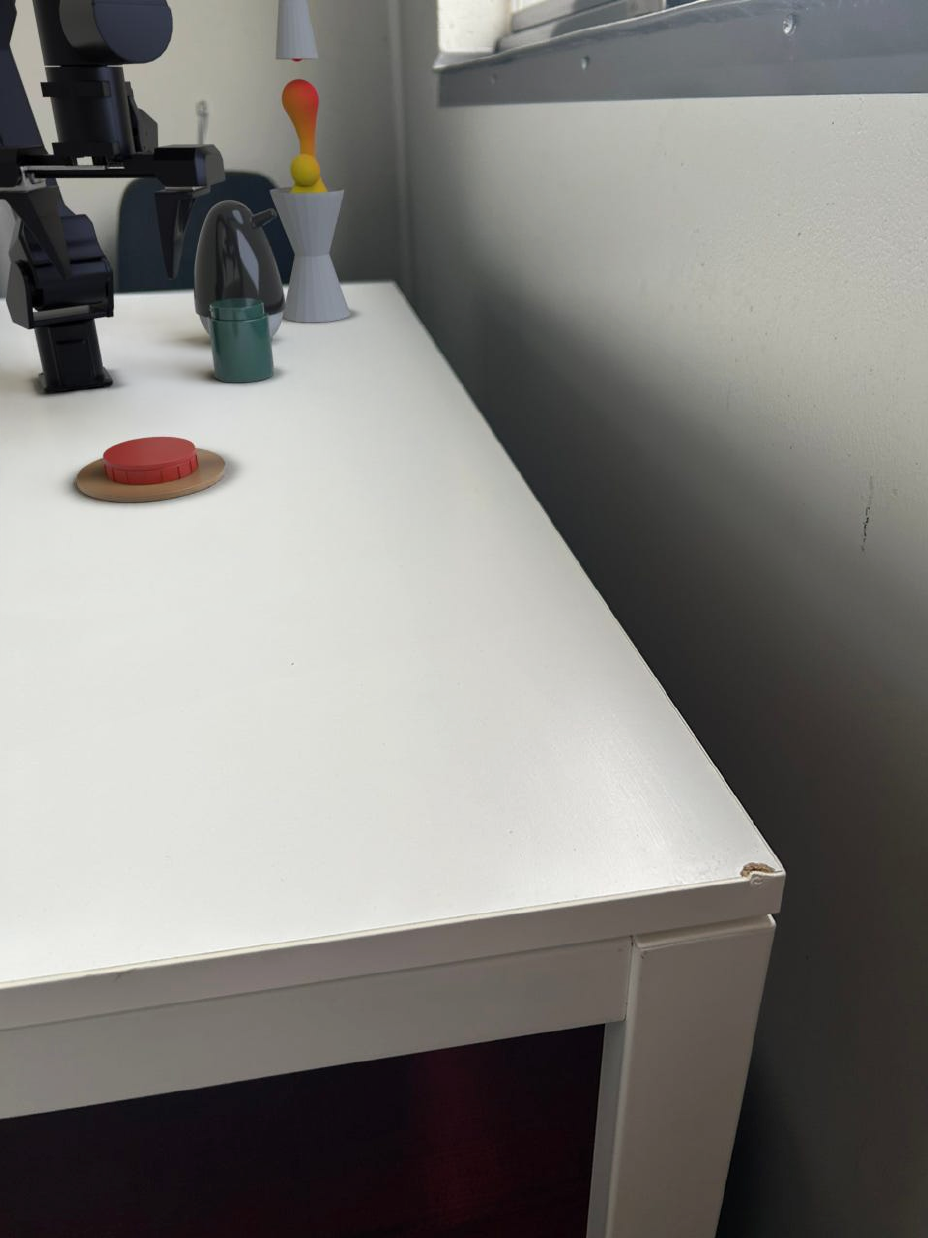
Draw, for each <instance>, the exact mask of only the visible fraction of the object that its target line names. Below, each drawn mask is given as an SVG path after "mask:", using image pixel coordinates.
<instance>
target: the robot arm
mask: <svg viewBox="0 0 928 1238" xmlns="http://www.w3.org/2000/svg"><path fill="white" fill-rule="evenodd" d="M16 2H17V0H0V200H1V201H2V200H3V201H6V202H7V204H8V205H9V206H10V209H11V212H12V215H13V218H14V222H15V223H14V227H13V231H12V235H11V240H10V244H9V248H8V253H7V254H8V257H9V260H10V266H9V271H8V280H7V288H6V295H5V296H6V297H5V304H6V307H7V310H8V312H9V316H10V319H11V321H12V323H13V324H16V325H18V326H20V327H22V328H24V329H27V330H33V331H34V336H35V341H36V346H37V349H38V350H37V351H38V355H39V360H40V364H41V368H42V372H40V373H38V374H37V376H38V380H39V382H40V385H41V387H42V390H43V393H56V392H64V391H73V390H81V389H88V388H89V389H90V388H98V387H105V386H112V385H114V380H113V377H112V376H111V374H110V373H109V371H108V370H107V368H106V367H105V366H104V363H103V358H102V353H101V348H100V342H99V335H98V331H97V325H96V320H97V319H102V318H108V319H109V318H114V317H115V315H114V312H115V311H114V310H115V291H114V289H115V288H114V286H115V285H114V270H113V268H112V266H111V264H110V262H109V259H108V257H107V255H105V253H104V251H103V249H102V248H101V245H100V243H99V239H98V237H97V233H96V229H95V227H94V223H93V221H92V220H91V219H90V217H89V216H88V214H86V213H79V214H77V213H75V212H74V211H73V210H72V209H71V208H70V207H69V206H67V205H66V203H65V201H64V198H63V195H62V191H61V190H60V186H59V183H58V181H57V179H157V180H158V181H159V182H160V183H161V184H162V185H163V186H164V189H161V190H158V191H154V192H153V196H154V205H155V210H156V218H157V223H158V230H159V231H158V232H159V237H160V239H159V240H160V243H161V252H162V258H163V263H164V267H165V271H166V274H167V278H168V279H169V280H175V279H176V278H177V277H178V274H179V268H180V263H181V259H182V252H183V247H184V241H185V238H186V237H185V235H186V231H187V226H188V223H189V220H190V217H191V214H192V210H193V208H194V206H195V204H196V202H197V200H198V199H199V197H202V196H205V195H208V194H210V192H211V186H212V185H216V184H219V183H222V182H223V183H224V182H226V171H225V164H224V163H225V162H224V158H223V155H222V152H221V151H220V150H219V148H218V147H216V145H215V144H214V143H201V144H200V143H196V144H195V143H191V144H190V143H188V144H187V143H186V144H185V143H184V144H183V143H182V144H181V143H180V144H178V143H177V144H174V143H173V144H167V145H162V146H159V124H158V123H157V121H156V120H155V119H154V118H152V117H151V115H150V114H148V113H147V112H146V111H145V110H143V109H142V108H140V107H138V105H137V102H136V100H135V95H134V90H133V87H132V84H131V83H132V82H131V81H129V80H128V81H127V80H125V73H124V67H123V65H142V64H143V65H144V64H148V63H151V62H154V61H156V60H157V59H159V58H160V57H162V55H164V53H165V52H166V50H168V47H169V46H170V43H171V40H172V37H173V32H174V31H173V30H174V25H173V24H174V19H173V13H172V8H171V7H170V6H169V4H168V1H167V0H31V2H32V7H33V12H34V17H35V23H36V28H37V33H38V39H39V43H40V50H41V55H42V61H43V66H44V72H45V77H46V81H40V82H39V84H40V90H41V95H42V98H50V104H51V110H52V115H53V119H54V125H55V130H56V137H57V141H54V142H51V149H52V151H53V152H52V153H53V154H52V153H49V152H48V150H47V148H46V146H45V143H44V140H43V138H42V134H41V131H40V128H39V125H38V124H37V121H36V118H35V115H34V112H33V109H32V106H31V103H30V100H29V97H28V94H27V91H26V88H25V86H24V82H23V80H22V77H21V73H20V71H19V69H18V65H17V62H16V60H15V57H14V54H13V50H12V48H11V41H12V36H13V33H14V29H15V24H16V20H17V16H18V10H17V6H16ZM84 158H91V163H92V164H79V163H78V159H84ZM95 319H96V320H95Z"/></svg>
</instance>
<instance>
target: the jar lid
mask: <svg viewBox="0 0 928 1238" xmlns="http://www.w3.org/2000/svg"><path fill="white" fill-rule="evenodd" d="M195 448H196V445H195V444H194V442H192V441H191V440H188V439H185V438H181V437H175V436H148V437H140V438H134V439H129V440H126V441H122V442H119V443H117V444H114V445H112V446H110V447H108V448H107V449H106V450H104V452H103V454H102V458H103V459H104V469H105V474H106V476H107V477H108V478H109V479H111V480H112V481H115V482H118V483H123V484H131V485H148V484H158V483H164V482H169V481H173V480H176V479H180V478H182V477H185V476H187V475H189V474H191V473H192V472H194V471H195V470H196V468H197V466H198V459H197V454H196V449H195Z"/></svg>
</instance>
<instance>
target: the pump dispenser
mask: <svg viewBox="0 0 928 1238" xmlns="http://www.w3.org/2000/svg"><path fill="white" fill-rule="evenodd" d="M276 218H277V212H276V210H275V209H274V208H268V209H266V210H263V211H260V212H258V213H255V214H254V213H253V212H252V210H251V209H250V208H249V207H248V206H247V205H245V204H244V203H242V202H240V201H237V200H232V199H231V200H230V199H228V200H223V201H219V202H218V203H216V204H215V205H213V206H212V207H211V208H210V209H209V211H208V213H207V214H206V217H205V219H204V221H203V225H202V227H201V231H200V234H199V239H198V243H197V247H196V253H195V262H194V271H193V304H194V310H195V313H196V315H198V316H199V320H200V322H201V324H202V327H203V328H204V331H206V333H207V334H208V335H209V336H210V333H209V325H208V316H209V315H211V311H210V310H209V309H210V304H211V303H213V302H215V301H219V300H224V299H234V298H251V299H258V300H261V301H263V305H264V312H266V313H268V315H269V324H270V334H271V339H272V338H273V337H274V336H275V335H276V334H277V332H278V331H279V329H280V327H281V325H282V321H283V313H284V310H285V308H286V305H285V303H286V296H285V292H284V287H283V281H282V277H281V274H280V270H279V267H278V264H277V263H278V262H277V261H276V260H277V259H276V258H275V255H274V252H273V249H272V247H271V245H270V242H269V239H268V237H267V235H266V233H265V231H264V229H263V226H265V225H266V224H268V223H270V222H272V221H273V220H275V219H276Z"/></svg>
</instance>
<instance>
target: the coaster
mask: <svg viewBox="0 0 928 1238" xmlns="http://www.w3.org/2000/svg"><path fill="white" fill-rule="evenodd" d="M195 449H196V454H197V459H198V466H197V468H196V470H195V471H194V472H192V473H191V474H189V475H187V476H185V477H182V478H180V479H176V480H173V481H169V482H164V483H158V484H148V485H131V484H123V483H118V482H115V481H112V480H111V479H109V478H108V477H107V476H106V474H105V469H104V459H103V457H101V458H98V459H97V460H94V461H92V462H90V463H89V464H86V466H84V467H83V468H81V469H80V471H78V473H77V474H76V477H75V479H76V484H77V488H78V489H79V491H80V492H81V493H82V494H85V495H86V496H88V497H91V498H94V499H98V500H102V501H106V502H107V501H108V502H117V503H144V502H145V503H146V502H156V501H163V500H170V499H174V498H179V497H183V496H188V495H191V494H194V493H197V492H200V491H203V490H205V489H207V488H210V487H211V486H213V485H215V484H217V483H218V482H219V481H221V480H222V478H224V476H225V475H226V471H227V465H226V461H225V459H224V458H223V457H222V456H221V455H219V454H218V453H216V452H214V451H210V450H207V449H205V448H204V449H203V448H198V447H195Z"/></svg>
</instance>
